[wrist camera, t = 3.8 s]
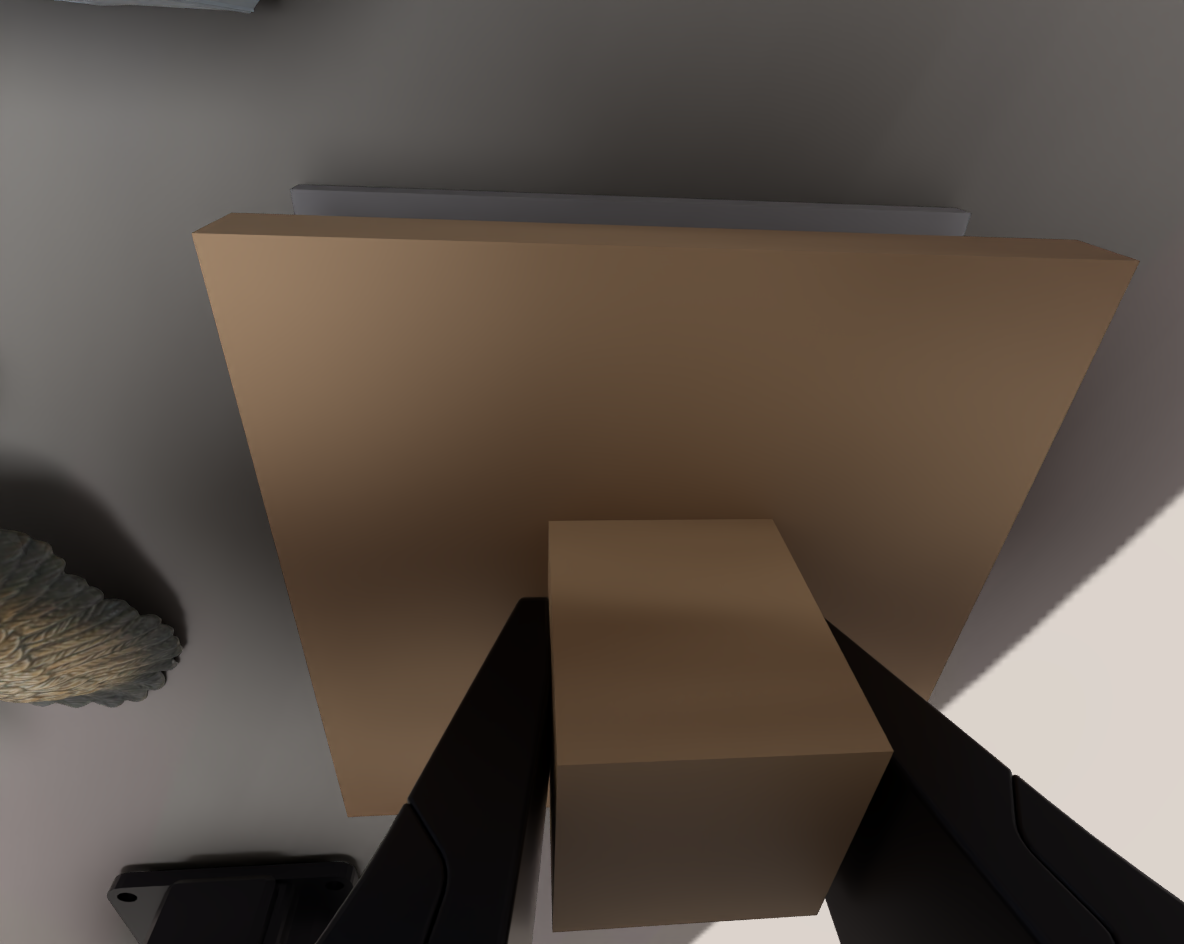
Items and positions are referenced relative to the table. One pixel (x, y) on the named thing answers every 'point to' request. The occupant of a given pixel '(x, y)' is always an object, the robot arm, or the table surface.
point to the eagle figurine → (72, 635)
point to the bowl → (181, 4)
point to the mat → (625, 210)
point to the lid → (646, 506)
